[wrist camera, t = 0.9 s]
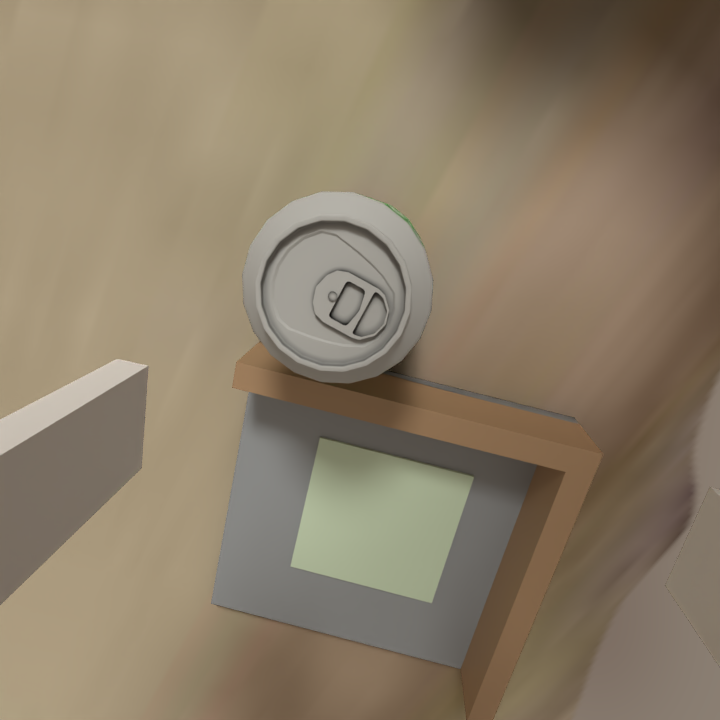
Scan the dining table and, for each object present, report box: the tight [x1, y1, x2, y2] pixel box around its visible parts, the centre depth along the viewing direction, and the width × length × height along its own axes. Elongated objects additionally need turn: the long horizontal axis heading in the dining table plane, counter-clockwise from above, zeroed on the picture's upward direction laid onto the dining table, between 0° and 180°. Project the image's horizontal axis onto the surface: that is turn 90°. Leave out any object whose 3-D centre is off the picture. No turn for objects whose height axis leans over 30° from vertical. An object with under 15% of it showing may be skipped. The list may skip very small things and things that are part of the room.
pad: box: [290, 436, 474, 603], centre depth 34 cm, size 10×10×1 cm
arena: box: [211, 341, 603, 720], centre depth 32 cm, size 20×20×5 cm
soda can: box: [242, 192, 433, 383], centre depth 25 cm, size 8×8×12 cm
